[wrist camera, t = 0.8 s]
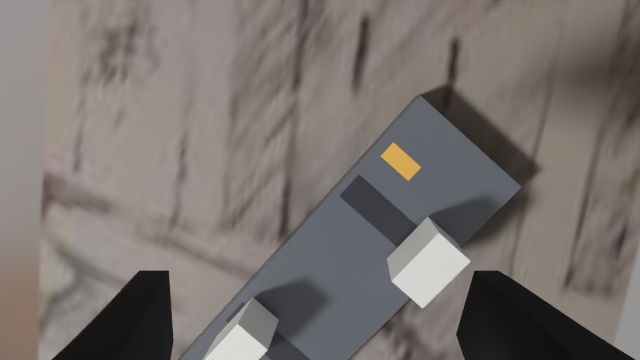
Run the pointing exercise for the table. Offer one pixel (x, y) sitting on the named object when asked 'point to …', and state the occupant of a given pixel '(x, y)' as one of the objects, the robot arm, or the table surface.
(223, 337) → the tab back
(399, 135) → the switch block
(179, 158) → the table surface
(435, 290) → the tab front
